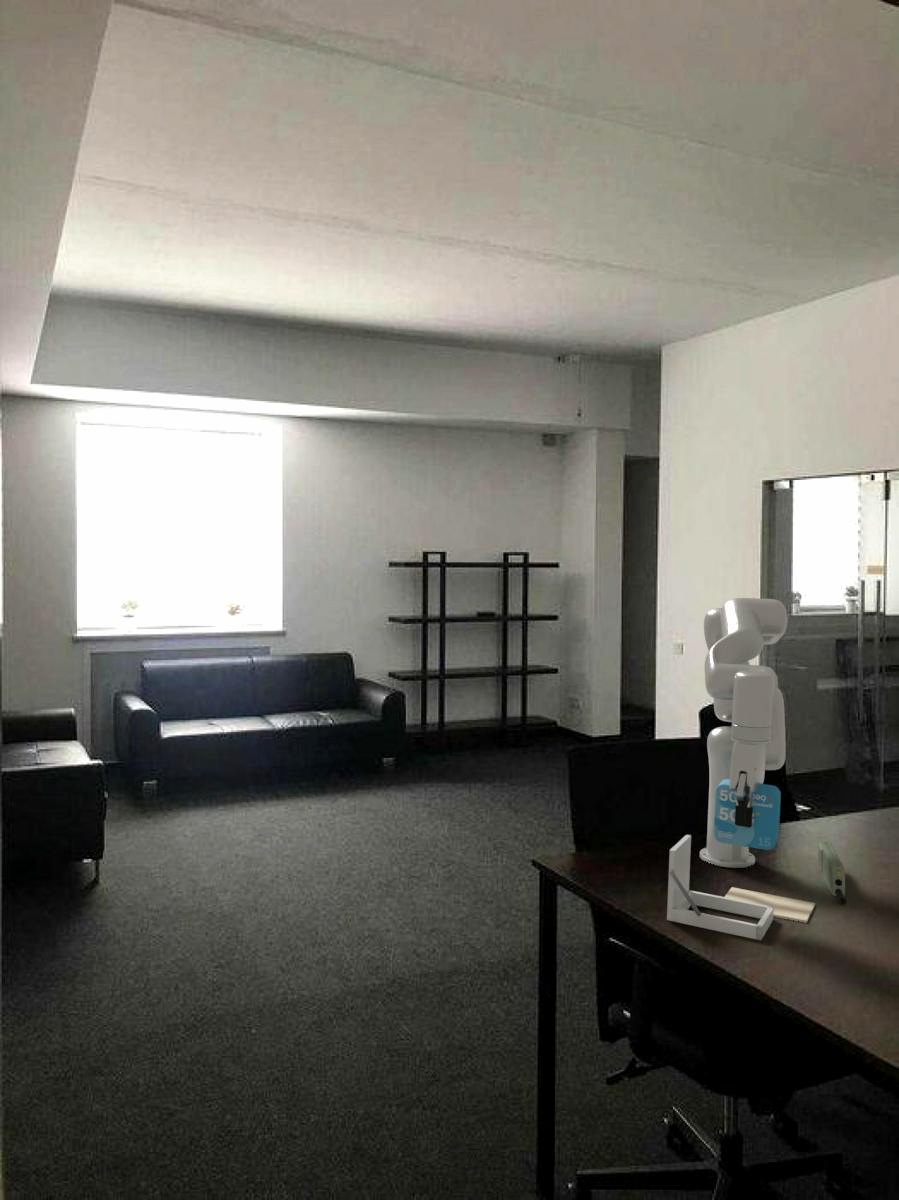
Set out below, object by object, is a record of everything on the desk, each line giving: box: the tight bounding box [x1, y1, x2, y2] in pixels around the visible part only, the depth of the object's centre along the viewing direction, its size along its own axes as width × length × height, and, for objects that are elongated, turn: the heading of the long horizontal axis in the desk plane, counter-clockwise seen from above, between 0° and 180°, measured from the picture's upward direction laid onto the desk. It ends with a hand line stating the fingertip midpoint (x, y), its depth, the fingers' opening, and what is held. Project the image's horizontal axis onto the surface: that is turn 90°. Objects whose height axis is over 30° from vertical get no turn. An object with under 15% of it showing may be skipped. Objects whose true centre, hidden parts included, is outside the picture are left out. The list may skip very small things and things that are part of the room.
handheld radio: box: [817, 840, 847, 905], centre depth 211 cm, size 7×3×25 cm
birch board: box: [724, 886, 816, 924], centre depth 198 cm, size 11×17×1 cm, turn 61°
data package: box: [714, 779, 782, 851], centre depth 193 cm, size 12×4×12 cm, turn 64°
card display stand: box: [666, 834, 774, 941], centre depth 189 cm, size 13×18×14 cm
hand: (746, 821), depth 193 cm, fingers closed on data package, 4 cm apart
